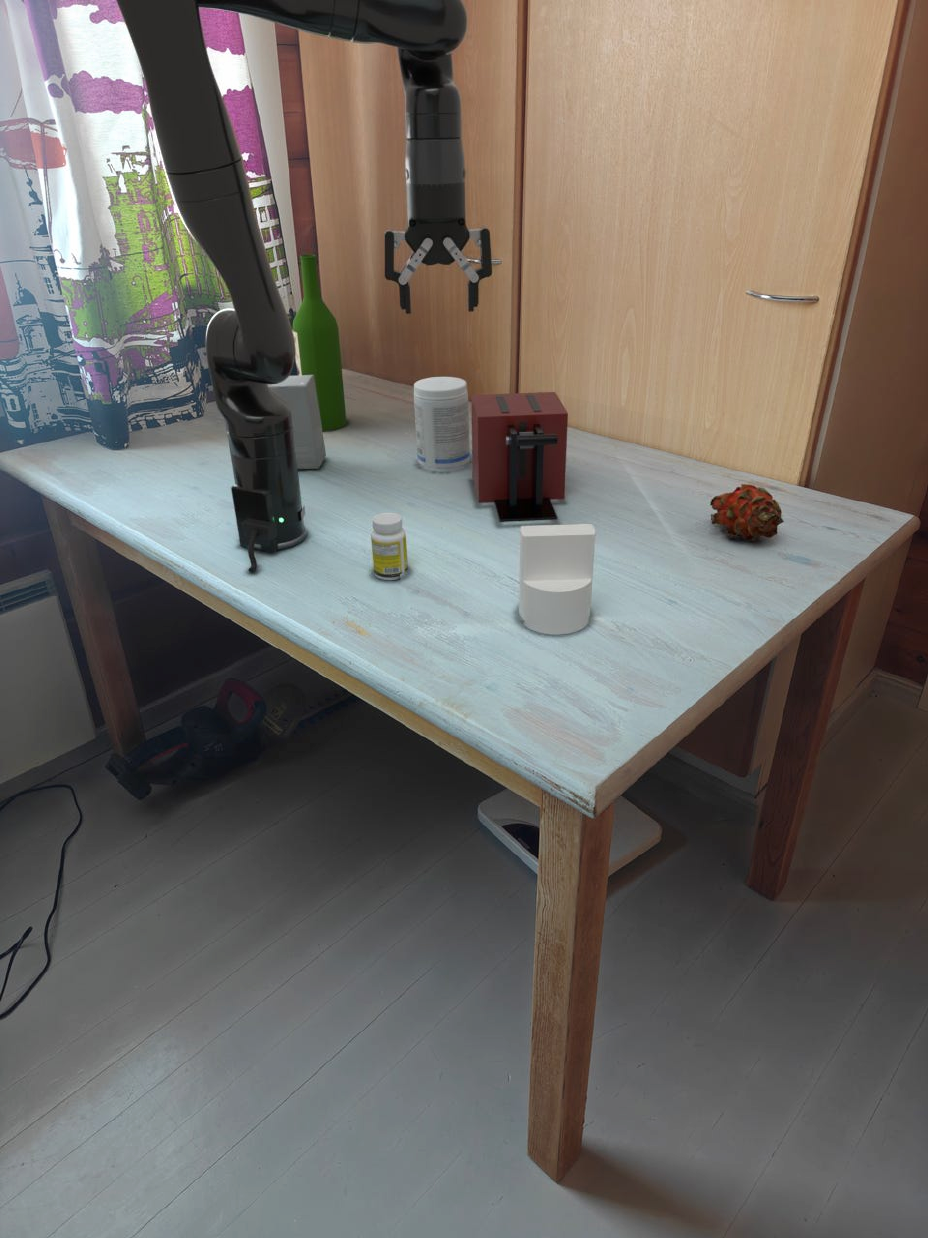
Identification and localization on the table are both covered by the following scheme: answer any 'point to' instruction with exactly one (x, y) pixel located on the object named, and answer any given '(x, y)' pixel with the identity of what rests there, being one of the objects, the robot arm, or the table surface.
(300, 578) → the table surface
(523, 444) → the lever
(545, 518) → the lever bracket
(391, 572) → the supplement bottle
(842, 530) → the table surface
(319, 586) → the table surface
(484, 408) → the toaster
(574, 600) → the cylinder with rectangular tab
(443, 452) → the supplement tub
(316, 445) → the cosmetic box
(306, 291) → the wine bottle
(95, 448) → the table surface
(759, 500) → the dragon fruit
